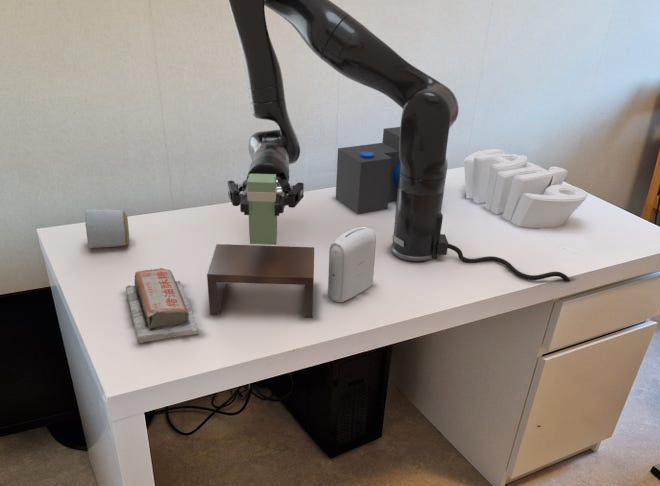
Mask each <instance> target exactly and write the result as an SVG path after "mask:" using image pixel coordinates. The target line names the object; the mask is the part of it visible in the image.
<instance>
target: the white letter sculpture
mask: <svg viewBox="0 0 660 486" xmlns="http://www.w3.org/2000/svg"><path fill="white" fill-rule="evenodd" d="M463 167H464V183H465V184H464V185H465V198H466V199H470V200H472V202H473V203H474V204H477V205H480V204H484V203H485V205H484V209H485V210H487V211H490V212H491V213H492V214H493V215H501V214H502V218H503V220H506V221H508V222H510V223H511V224H513V225H515V226H517V227H519V228H532V229H534V228H535V229H543V228H544V229H546V228H554V227H559V226H562V225H563V224H564V223H565V222H566V221H567V220H568V219H569V218H570V216H571V215H573V214H574V212H575V211H576V210H577V209H578V208H579V207H580V206H581V205H582V204H583V203H584V202H585V201H586V199H587V198H588V197H589V194H588V192H587V191H586V190H584V189H582V188H580V187H577V186H574V185H569V184H563V182H564V181H565V179H566V177H567V175H568V173H569V171H568V170H567V169H565V168H562V167H558V166H556V165H554V166H551V167H549V168H548V170H547V169H546V168H544V167H542V166H539V165H537V164H535V163H533V162H530V161H528V156H527V155H523V154H518V153H517V154H515V153H507V152H505V151H504V150H503V149H500V148H490V149H489V148H488V149H483V150H479V151H476V152H472V153H471V154H469V155H467V156H466V157H465V159H464V160H463Z"/></svg>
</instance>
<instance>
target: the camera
mask: <svg viewBox="0 0 660 486" xmlns="http://www.w3.org/2000/svg"><path fill="white" fill-rule="evenodd" d="M399 139H400V126H395V127H387V128H383V132H382V142H378V143H369V144H368V143H367V144H361V145H356V146H355V145H353V146H345V147H339V148H337V158H336V159H337V160H336V182H335V199H336V200H337V201H338V202H339V203H341V204H343V205H344V206H345V207H347V208H349V209H350V210H351V211H352V212H354V213H355V214H356V215H361V214H366V213H367V214H368V213H372V212H377V211H384V210H388V208H389V207H388V206H389V205H388V204H389V203H392V202H397V193H398V183H399V173H400V160H399Z"/></svg>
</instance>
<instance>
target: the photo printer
mask: <svg viewBox="0 0 660 486" xmlns="http://www.w3.org/2000/svg"><path fill="white" fill-rule="evenodd" d="M376 246H377V237H376V234H375V231H374V230H373V229H372V228H369V227H366V226H359V227H355V228H352V229H349V230H347V231H346V232H344V233H342V234H340V235H339V236H338V237H337V238H336V239H334V241H332V242H331V244H330V246H329V251H328V279H327V283H328V284H327V294H328V296H329V299H330V300H332V301H333V302H337V303H342V302H346V301H348V300H350V299H351V298H353V297H355V296H357V295H360V293H361V294H362V292H364V291H366V290H367V289H369V288H370V287H372V285H373V283H374V272H375V262H376V261H375V260H376Z"/></svg>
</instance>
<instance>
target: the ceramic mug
mask: <svg viewBox="0 0 660 486" xmlns="http://www.w3.org/2000/svg"><path fill="white" fill-rule="evenodd" d="M84 221H85V230H86V231H85V232H86V238H87V239H86V240H87V246H88V248H89V249H99V248H112V247H124V246H127V245H129V244H130V231H129V220H128V213H127V212H126V211H124V210H120V209H85V211H84Z"/></svg>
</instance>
